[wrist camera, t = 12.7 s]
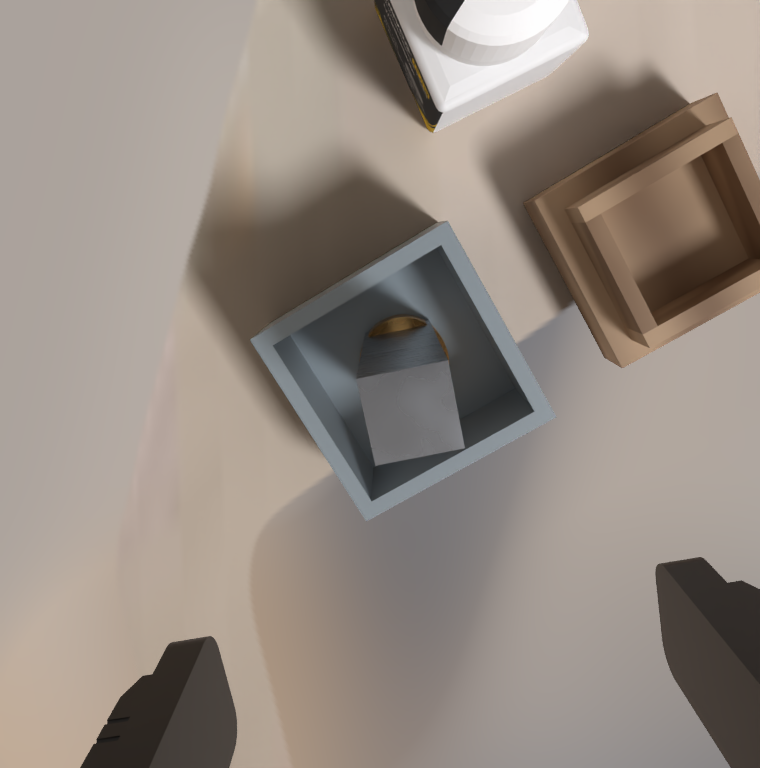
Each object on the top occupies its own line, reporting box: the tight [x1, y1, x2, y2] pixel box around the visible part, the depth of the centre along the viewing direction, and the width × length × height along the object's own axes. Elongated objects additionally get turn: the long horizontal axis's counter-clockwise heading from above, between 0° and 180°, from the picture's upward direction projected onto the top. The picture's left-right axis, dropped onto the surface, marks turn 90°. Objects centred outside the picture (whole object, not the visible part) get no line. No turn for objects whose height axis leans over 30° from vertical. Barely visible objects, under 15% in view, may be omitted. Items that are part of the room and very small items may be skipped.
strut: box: [356, 314, 465, 466], centre depth 32 cm, size 5×5×12 cm
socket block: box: [523, 93, 760, 368], centre depth 35 cm, size 10×10×6 cm
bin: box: [250, 221, 556, 521], centre depth 36 cm, size 11×11×6 cm
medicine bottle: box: [375, 0, 589, 132], centre depth 29 cm, size 7×7×12 cm
